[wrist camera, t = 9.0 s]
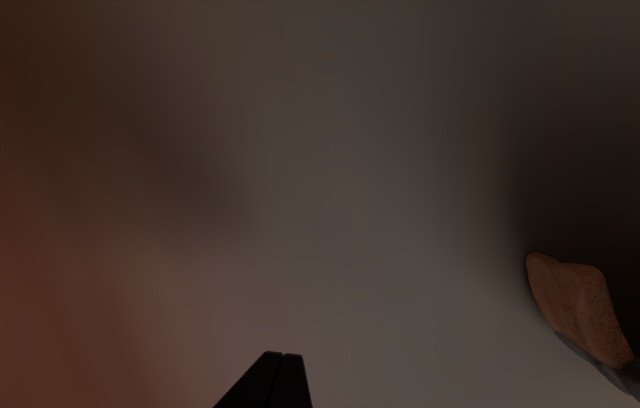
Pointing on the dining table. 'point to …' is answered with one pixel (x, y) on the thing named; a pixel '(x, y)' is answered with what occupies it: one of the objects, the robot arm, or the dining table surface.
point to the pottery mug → (584, 317)
